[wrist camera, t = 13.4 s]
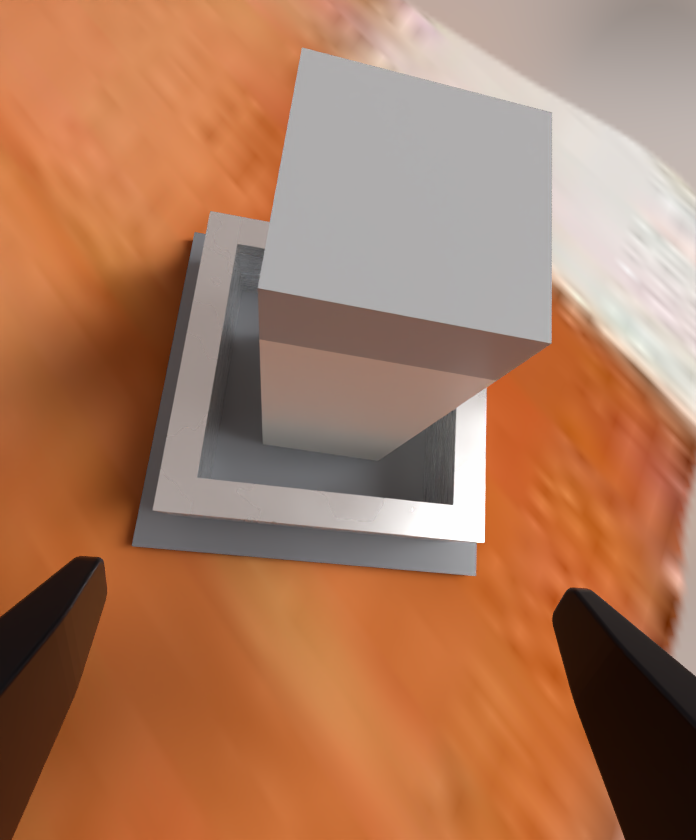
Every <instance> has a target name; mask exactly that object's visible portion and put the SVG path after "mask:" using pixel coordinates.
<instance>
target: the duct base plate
mask: <svg viewBox="0 0 696 840" xmlns="http://www.w3.org/2000/svg"><path fill="white" fill-rule="evenodd" d="M205 236H206V234H202V233H196V232H195V233H194V238H193V243H192V248H191V253H190V258H189V263H188V268H187V273H186V278H185V283H184V288H183V293H182V298H181V303H180V308H179V313H178V318H177V323H176V328H175V333H174V338H173V343H172V348H171V353H170V358H169V363H168V368H167V373H166V378H165V383H164V388H163V393H162V398H161V403H160V408H159V413H158V418H157V423H156V427H155V432H154V437H153V442H152V447H151V452H150V457H149V462H148V467H147V472H146V477H145V482H144V487H143V492H142V497H141V502H140V507H139V512H138V517H137V522H136V527H135V532H134V537H133V542H132V546H135V547H147V548H158V549H170V550H181V551H193V552H205V553H216V554H228V555H239V556H251V557H262V558H274V559H285V560H297V561H308V562H320V563H331V564H343V565H355V566H366V567H378V568H389V569H401V570H412V571H424V572H435V573H447V574H458V575H470V576H476V546H477V543H475V542H445V541H435V540H424V539H414V538H404V537H393V536H383V535H373V534H362V533H352V532H342V531H331V530H321V529H311V528H300V527H290V526H279V525H269V524H259V523H248V522H238V521H228V520H217V519H207V518H197V517H186V516H176V515H170V514H166V513H161V512H157V511H153V505H154V500H155V495H156V490H157V485H158V479H159V474H160V469H161V464H162V459H163V454H164V448H165V443H166V438H167V433H168V428H169V422H170V417H171V412H172V407H173V402H174V397H175V391H176V386H177V381H178V376H179V371H180V366H181V360H182V355H183V350H184V345H185V340H186V335H187V329H188V324H189V319H190V314H191V309H192V303H193V298H194V293H195V288H196V283H197V278H198V272H199V267H200V262H201V257H202V252H203V247H204V241H205ZM425 447H426V429H424V430H423V431H421V432H420V433H418V434H417V435H416V436H414V437H413V438H411V439H410V440H408V441H407V442H405V443H404V444H402V445H401V446H399V447H398V448H396V449H395V450H393V451H392V452H390V453H389V454H387V455H386V456H385V457H383V458H382V459H380V460H379V461H375V460H368V459H361V458H354V457H347V456H340V455H333V454H326V453H320V452H313V451H306V450H299V449H292V448H285V447H278V446H271V445H264V444H263V435H262V404H261V374H260V343H259V312H258V292H252V291H246V290H242V291H241V298H240V304H239V310H238V316H237V322H236V328H235V334H234V340H233V346H232V352H231V358H230V364H229V370H228V376H227V382H226V388H225V395H224V401H223V407H222V413H221V419H220V425H219V431H218V437H217V443H216V449H215V455H214V461H213V467H212V473H211V479H214V480H223V481H232V482H242V483H251V484H260V485H269V486H279V487H288V488H297V489H306V490H316V491H325V492H334V493H343V494H353V495H362V496H371V497H380V498H390V499H399V500H408V501H417V502H423V488H424V468H425Z"/></svg>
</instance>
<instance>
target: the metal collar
mask: <svg viewBox="0 0 696 840" xmlns="http://www.w3.org/2000/svg"><path fill="white" fill-rule="evenodd" d="M269 224H270V222H266V221H261V220H255V219H250V218H245V217H239V216H234V215H228V214H223V213H218V212H212V211H210V216H209V221H208V226H207V231H206V236H205V241H204V247H203V252H202V257H201V262H200V267H199V272H198V278H197V283H196V288H195V293H194V298H193V303H192V309H191V314H190V319H189V324H188V329H187V335H186V340H185V345H184V350H183V355H182V360H181V366H180V371H179V376H178V381H177V386H176V391H175V397H174V402H173V407H172V412H171V417H170V422H169V428H168V433H167V438H166V443H165V448H164V454H163V459H162V464H161V469H160V474H159V479H158V485H157V490H156V495H155V500H154V505H153V511H157V512H161V513H166V514H170V515H176V516H186V517H197V518H207V519H217V520H228V521H238V522H248V523H259V524H269V525H279V526H290V527H300V528H311V529H321V530H331V531H342V532H352V533H362V534H373V535H383V536H393V537H404V538H414V539H424V540H435V541H445V542H475V543H484V525H485V458H486V391H487V387H486V388H485V389H483V390H482V391H480V392H479V393H478V394H476V395H475V396H473V397H472V398H470V399H469V400H467V401H466V402H464V403H463V404H461V405H460V406H458V407H457V408H455V409H454V410H452V411H451V412H449V413H448V414H447V415H445V416H444V417H442V418H441V419H439V420H438V421H436V422H435V423H433V424H432V425H430V426H429V427H427V428H426V447H425V468H424V488H423V502H417V501H408V500H399V499H390V498H380V497H371V496H362V495H353V494H343V493H334V492H325V491H316V490H306V489H297V488H288V487H279V486H269V485H260V484H251V483H242V482H232V481H223V480H214V479H211V473H212V467H213V461H214V455H215V449H216V443H217V437H218V431H219V425H220V419H221V413H222V407H223V401H224V395H225V388H226V382H227V376H228V370H229V364H230V358H231V352H232V346H233V340H234V334H235V328H236V322H237V316H238V310H239V304H240V298H241V291H242V290H246V291H252V292H258V284H259V278H260V273H261V267H262V262H263V257H264V251H265V246H266V240H267V235H268V230H269Z"/></svg>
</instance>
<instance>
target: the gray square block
mask: <svg viewBox="0 0 696 840" xmlns="http://www.w3.org/2000/svg"><path fill="white" fill-rule="evenodd" d="M551 305H552V112H548V111H544V110H540V109H536V108H532V107H529V106H525V105H521V104H517V103H513V102H509V101H506V100H502V99H498V98H494V97H490V96H486V95H482V94H479V93H475V92H471V91H467V90H463V89H459V88H456V87H452V86H448V85H444V84H440V83H436V82H432V81H429V80H425V79H421V78H417V77H413V76H409V75H406V74H402V73H398V72H394V71H390V70H386V69H382V68H379V67H375V66H371V65H367V64H363V63H359V62H356V61H352V60H348V59H344V58H340V57H336V56H332V55H329V54H325V53H321V52H317V51H313V50H309V49H306V48H302V51H301V56H300V62H299V67H298V72H297V78H296V83H295V89H294V94H293V99H292V105H291V110H290V116H289V121H288V127H287V132H286V137H285V143H284V148H283V154H282V159H281V165H280V170H279V175H278V181H277V186H276V192H275V197H274V202H273V208H272V213H271V219H270V224H269V230H268V235H267V240H266V246H265V251H264V257H263V262H262V267H261V273H260V278H259V284H258V312H259V343H260V374H261V404H262V435H263V444H264V445H271V446H278V447H285V448H292V449H299V450H306V451H313V452H320V453H326V454H333V455H340V456H347V457H354V458H361V459H368V460H375V461H379V460H380V459H382V458H383V457H385V456H386V455H387V454H389V453H390V452H392V451H393V450H395V449H396V448H398V447H399V446H401V445H402V444H404V443H405V442H407V441H408V440H410V439H411V438H413V437H414V436H416V435H417V434H418V433H420V432H421V431H423V430H424V429H426V428H427V427H429V426H430V425H432V424H433V423H435V422H436V421H438V420H439V419H441V418H442V417H444V416H445V415H447V414H448V413H449V412H451V411H452V410H454V409H455V408H457V407H458V406H460V405H461V404H463V403H464V402H466V401H467V400H469V399H470V398H472V397H473V396H475V395H476V394H478V393H479V392H480V391H482V390H483V389H485V388H486V387H488V386H489V385H491V384H492V383H494V382H495V381H497V380H498V379H500V378H501V377H503V376H504V375H506V374H507V373H509V372H510V371H511V370H513V369H514V368H516V367H517V366H519V365H520V364H522V363H523V362H525V361H526V360H528V359H529V358H531V357H532V356H534V355H535V354H537V353H538V352H540V351H541V350H542V349H544V348H545V347H547V346H548V345H550V344H551Z"/></svg>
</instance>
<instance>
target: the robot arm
mask: <svg viewBox="0 0 696 840" xmlns="http://www.w3.org/2000/svg"><path fill="white" fill-rule="evenodd" d="M106 596H107V583H106V575H105V567H104V562H103V560H102V559H101V558H99V557H88V556H79V557H76V558H74V559H73V560H71V561H70V562H69V563H68V564H66V565H65V566H64V567H63V568H61V569H60V570H59V571H57V572H56V573H55V574H54V575H52V576H51V577H50V578H49V579H47V580H46V581H45V582H44V583H42V584H41V585H40V586H39V587H37V588H36V589H35V590H34V591H32V592H31V593H30V594H29V595H27V596H26V597H25V598H24V599H22V600H21V601H20V602H19V603H17V604H16V605H15V606H14V607H12V608H11V609H10V610H9V611H7V612H6V613H5V614H4V615H2V616H1V617H0V840H12V838H13V835H14V833H15V831H16V829H17V826H18V824H19V822H20V819H21V817H22V815H23V813H24V810H25V808H26V806H27V804H28V801H29V799H30V797H31V794H32V792H33V790H34V788H35V785H36V783H37V781H38V778H39V776H40V774H41V772H42V769H43V767H44V765H45V762H46V760H47V758H48V756H49V753H50V751H51V749H52V746H53V744H54V742H55V740H56V737H57V735H58V733H59V730H60V728H61V726H62V724H63V721H64V719H65V717H66V714H67V712H68V710H69V708H70V705H71V703H72V701H73V698H74V696H75V693H76V691H77V688H78V685H79V682H80V679H81V676H82V673H83V670H84V667H85V664H86V661H87V658H88V654H89V651H90V648H91V645H92V642H93V639H94V635H95V632H96V629H97V626H98V623H99V620H100V617H101V613H102V610H103V607H104V604H105V601H106ZM552 622H553V627H554V631H555V635H556V638H557V642H558V646H559V650H560V653H561V657H562V661H563V664H564V668H565V672H566V675H567V679H568V683H569V686H570V690H571V693H572V696H573V700H574V703H575V706H576V709H577V711H578V714H579V717H580V720H581V722H582V725H583V728H584V730H585V733H586V736H587V738H588V741H589V744H590V747H591V749H592V752H593V755H594V757H595V760H596V763H597V765H598V768H599V771H600V773H601V776H602V779H603V781H604V784H605V787H606V789H607V792H608V795H609V797H610V800H611V803H612V806H613V808H614V811H615V814H616V816H617V819H618V822H619V824H620V827H621V830H622V832H623V835H624V838H625V840H696V676H695V675H693V674H692V673H691V672H690V671H688V670H687V669H686V668H685V667H684V666H683V665H681V664H680V663H679V662H678V661H676V660H675V659H674V658H673V657H672V656H670V655H669V654H668V653H667V652H666V651H664V650H663V649H662V648H661V647H660V646H658V645H657V644H656V643H655V642H654V641H652V640H651V639H650V638H649V637H647V636H646V635H645V634H644V633H643V632H641V631H640V630H639V629H638V628H637V627H635V626H634V625H633V624H632V623H631V622H629V621H628V620H627V619H626V618H625V617H623V616H622V615H621V614H620V613H619V612H617V611H616V610H615V609H614V608H612V607H611V606H610V605H609V604H608V603H606V602H605V601H604V600H603V599H602V598H600V597H599V596H598V595H597V594H596V593H594V592H593V591H591V590H590V589H586V588H569V589H568V590H567V591H566V592H565V594H564V595H563V597H562V599H561V600H560V602H559V604H558V605H557V607H556V609H555V611H554V613H553V617H552Z"/></svg>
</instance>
